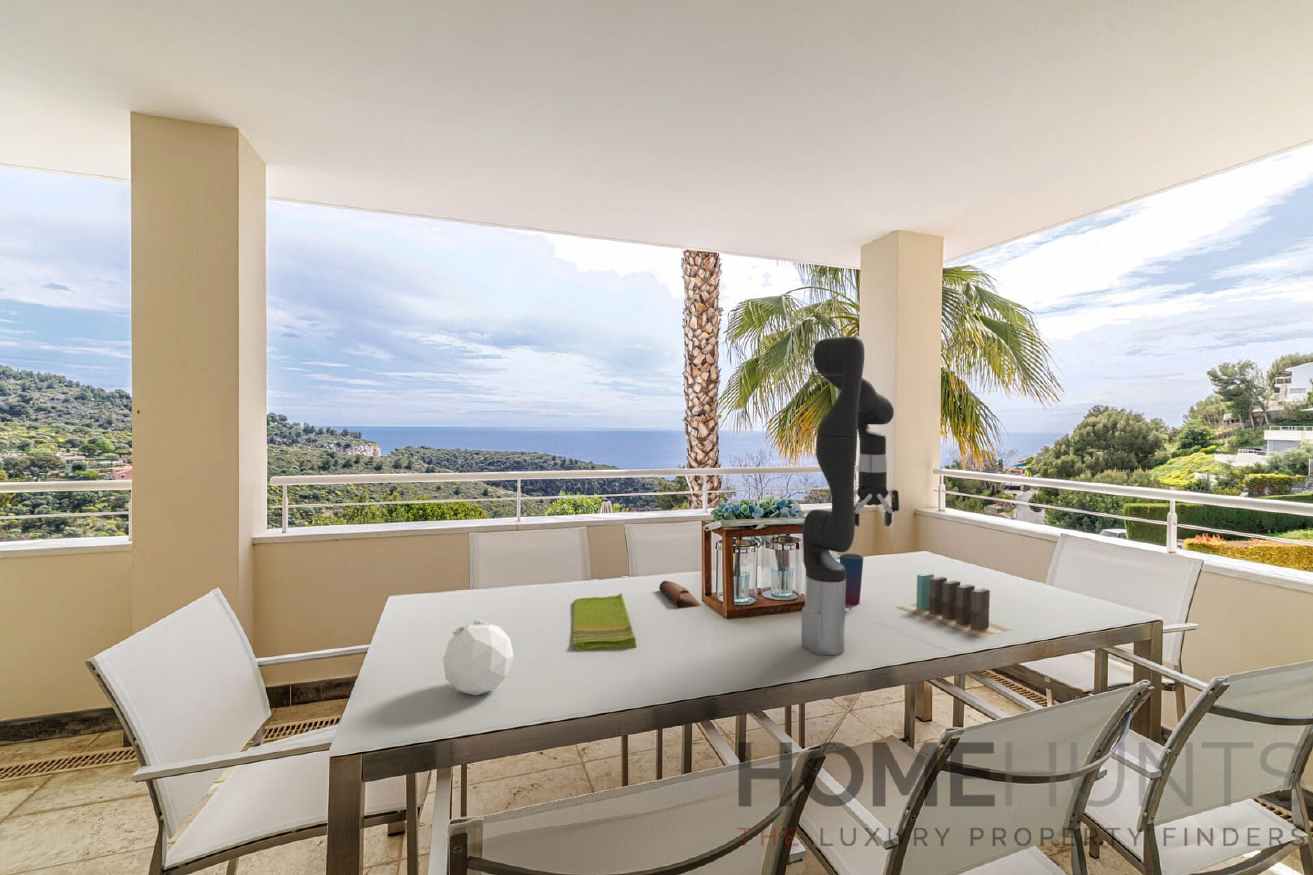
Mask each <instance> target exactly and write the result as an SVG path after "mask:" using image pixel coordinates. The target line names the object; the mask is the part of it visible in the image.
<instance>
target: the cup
mask: <svg viewBox="0 0 1313 875" xmlns="http://www.w3.org/2000/svg"><path fill="white" fill-rule="evenodd" d="M839 563H840V564H842V565H843V566H844V567H845V569H846V591H845V608H850V607H849V606H858V605H860V601H861V592H862V591H861V589H862V580H863V567H864V555H861V554H856V553H846V552H843V553H840V554H839ZM846 605H849V606H846Z"/></svg>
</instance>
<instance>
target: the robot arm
mask: <svg viewBox="0 0 1313 875" xmlns="http://www.w3.org/2000/svg"><path fill="white" fill-rule="evenodd" d="M812 358H813V365H814V367H815V369H816V371H817V373H819V375H820V376H821V377H823V378H824V379H825V380H827V381H828V382H829V383H831V385H833V386H834V387H835V388H837V390H839V394H838V396H837V398H836V400H835V402H834V403H833V405H831V408H829V410H828V411H827V413H826V414H825V416H823V418H822V420H821V421H820V424H819V425H818V428H817V432H816V447H815V448H816V449H815V456H816V457H815V458H816V461H817V462H818V466H819V468H820V470H821V472H822V474H823V477H824V478H825V480H826V482H827V485H828V487H829V490H830V495H831V496H830V497H831V511H830V510H825V509H812V510H811V511H809V512H808V513H807V514H806V516H805V517H804V518H805V519H804V521H803V525H802V548H803V549H802V551H803V552H802V553H803V555H802V556H803V559H802V560H803V565H804V569H805V600H804V601H805V603H804V604H805V605H804V606H803V607H802V608H801V637H800V638H801V641H800V642H801V643H800V646H801V647H803V648H805V649H806V650H809V651H810V652H811V653H814V654H815V655H816V656H817V655H818V656H821V655H825V656H826V655H827V656H835V655H836V656H837V655H841V654H843V653H844V652H845V636H846V635H845V631H846V630H845V629H846V624H845V623H846V607H845V606H846V604H845V591H846V569H845V567H844V566H843V565H842V564H840V561H837V560H836V559H835V558H834V557H833V555H832V554H831V553H830V551H832V552H835V553H846V552H848V551H849V550H850V549H851V547H852V544H853V542H854V538H855V532H856V531H855V529H856V528H855V526H856V527H859V526H860V511H862V509H863V508H864V507H865V506H881V507H882V508H883V509H884V526H885V527H890V526H891V524H892V522H893V513H894V512H898V511H900V500H899V491H898V490H897V489H894V488H891V489H887V488H888V487H887V481H888V480H887V478H888V477H887V476H888V474H887V473H888V472H887V470H888V467H887V466H888V462H887V461H888V460H887V437H886V435H885V434H883V433H880V432H875V431H873V430H871V428H870V426H869V425H872V426H873V425H879V426H880V425H881V426H883V425H887V424H889V423H890V422H891V421H892V419H893V418H894V414H895V412H894V407H893V404H892V403H891V402H890V400H889V399H888V398H887V397H885V396H884V395H882V394H881V393H879V392H877V391H876V389H875V388H874V385H872V383H871V382H870V381H869V380H868V379H867V378H866V377H865V376H863V374H864V373H863V372H864V366H865V365H864V363H865V345H864V342H863V340H862V338H861V337H859V336H842V337H841V336H840V337H827V338H823V339H820V340H819V341H817V342H816V344H815V346H814V348H813V354H812ZM858 438H859V457H858V466H857V468H858V486H857V487H858V488H857V490H856V489H855V469H856V457H857V446H858V445H857V444H858ZM856 496H857V497H859V499H858V500H857V501H856V503H855V498H856ZM888 496H889V497H890V499H891V501H890V502H891V506H890V505H889V503H888V501H887V500H886V498H887V497H888Z"/></svg>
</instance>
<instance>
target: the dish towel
mask: <svg viewBox="0 0 1313 875" xmlns="http://www.w3.org/2000/svg"><path fill="white" fill-rule="evenodd" d="M572 607H573V609H572V610H573V611H572V612H573V615H572V616H573V620H572V621H573V622H572V624H573V626H572V627H573V628H572V644H571V645H572V649H573V651H587V650H588V651H591V650H594V651H596V650H618V649H635V648H637V641H636V639H637V638H636V636H635V633H634V631H633V627H632V623H631V620H630V616H629V612H628V610H627V607H626V604H625V600H624V597H623V593H619V594H618V595H611V596H602V597H600V596H597V597H582V598H576V599H575V600H573V606H572Z"/></svg>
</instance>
